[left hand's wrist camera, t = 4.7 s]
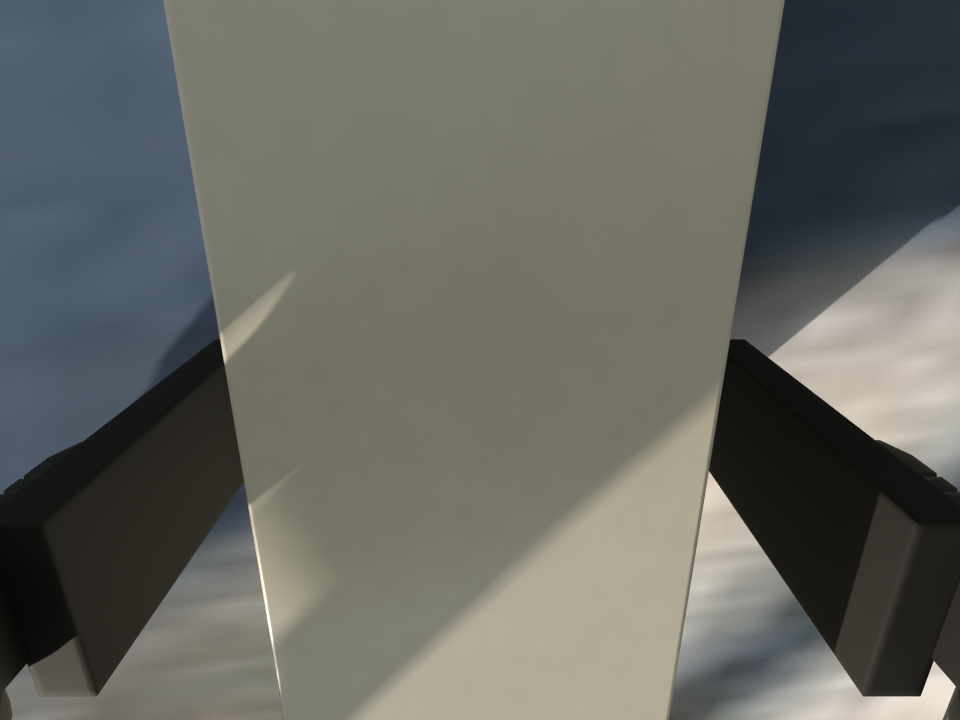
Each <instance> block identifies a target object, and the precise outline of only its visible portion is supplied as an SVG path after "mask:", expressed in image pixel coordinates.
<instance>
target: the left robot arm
mask: <svg viewBox="0 0 960 720" xmlns="http://www.w3.org/2000/svg"><path fill="white" fill-rule="evenodd" d="M709 471H710V473H711V474H712V476H713V477H714V479H715V480H716V482H717V483H718V485H719V486H720V488H721V489H722V490H723V492H724V493H725V495H726V496H727V498H728V499H729V501H730V502H731V504H732V505H733V507H734V508H735V509H736V511H737V512H738V514H739V515H740V517H741V518H742V520H743V521H744V523H745V524H746V526H747V527H748V528H749V530H750V531H751V533H752V534H753V536H754V537H755V539H756V540H757V542H758V543H759V545H760V546H761V547H762V549H763V550H764V552H765V553H766V555H767V556H768V558H769V559H770V561H771V562H772V564H773V565H774V567H775V568H776V569H777V571H778V572H779V574H780V575H781V577H782V578H783V580H784V581H785V583H786V584H787V586H788V587H789V588H790V590H791V591H792V593H793V594H794V596H795V597H796V599H797V600H798V602H799V603H800V605H801V606H802V607H803V609H804V610H805V612H806V613H807V615H808V616H809V618H810V619H811V621H812V622H813V624H814V625H815V626H816V628H817V629H818V631H819V632H820V634H821V635H822V637H823V638H824V640H825V641H826V643H827V644H828V646H829V647H830V648H831V650H832V651H833V653H834V654H835V656H836V657H837V659H838V660H839V662H840V663H841V665H842V666H843V667H844V669H845V670H846V672H847V673H848V675H849V676H850V678H851V679H852V681H853V682H854V684H855V685H856V686H857V688H858V689H859V691H860V692H861V694H862V695H863V696H921V694H922V691H923V688H924V686H925V683H926V680H927V677H928V675H929V672H930V669H931V667H932V664H933V661H935V663H936V664H937V665H938V666H939V667H940V668H941V670H942V671H943V672H944V673H945V674H946V675H947V676H948V678H949V679H950V680H951V681H952V682H953V683H954V685H955V686H956V687H955V690H954V693H953V695H952V698H951V700H950V703H949V705H948V708H947V710H946V713H945V715H944V718H943V720H960V492H957V488H956V487H954V486H953V485H952V484H950V483H949V482H948V481H946V480H945V479H944V478H942V477H937V475H936V474H937V473H935V472H934V471H933V470H931V469H930V468H929V467H927V466H926V465H925V464H923V463H922V462H921V461H919V460H918V459H916V458H915V457H914V456H912V455H910V454H908V453H906V452H904V451H902V450H900V449H898V448H895V447H893V446H891V445H889V444H887V443H885V442H883V441H880V440H874V439H873V438H871V437H870V436H869V435H868V434H866V433H865V432H864V431H862V430H861V429H860V428H859V427H857V426H856V425H855V424H853V423H852V422H851V421H849V420H848V419H847V418H846V417H844V416H843V415H842V414H840V413H839V412H838V411H836V410H835V409H834V408H833V407H831V406H830V405H829V404H827V403H826V402H825V401H823V400H822V399H821V398H820V397H818V396H817V395H816V394H814V393H813V392H812V391H811V390H809V389H808V388H807V387H805V386H804V385H803V384H801V383H800V382H799V381H798V380H796V379H795V378H794V377H792V376H791V375H790V374H788V373H787V372H786V371H785V370H783V369H782V368H781V367H779V366H778V365H777V364H775V363H774V362H773V361H772V360H770V359H769V358H768V357H766V356H765V355H764V354H763V353H761V352H760V351H759V350H757V349H756V348H755V347H753V346H752V345H751V344H750V343H748V342H747V341H746V340H730V342H729V349H728V355H727V361H726V367H725V373H724V380H723V386H722V392H721V398H720V404H719V411H718V417H717V423H716V429H715V435H714V442H713V448H712V454H711V460H710V466H709ZM243 482H244V478H243V472H242V466H241V460H240V454H239V448H238V442H237V436H236V430H235V424H234V418H233V412H232V406H231V400H230V394H229V388H228V382H227V377H226V371H225V365H224V359H223V353H222V347H221V341H220V340H214V341H213V342H212V343H210V344H209V345H208V346H207V347H205V348H204V349H203V350H201V351H200V352H199V353H197V354H196V355H195V356H194V357H192V358H191V359H190V360H188V361H187V362H186V363H184V364H183V365H182V366H181V367H179V368H178V369H177V370H175V371H174V372H173V373H172V374H170V375H169V376H168V377H166V378H165V379H164V380H162V381H161V382H160V383H159V384H157V385H156V386H155V387H153V388H152V389H151V390H149V391H148V392H147V393H146V394H144V395H143V396H142V397H140V398H139V399H138V400H137V401H135V402H134V403H133V404H131V405H130V406H129V407H127V408H126V409H125V410H124V411H122V412H121V413H120V414H118V415H117V416H116V417H114V418H113V419H112V420H111V421H109V422H108V423H107V424H105V425H104V426H103V427H101V428H100V429H99V430H98V431H96V432H95V433H94V434H92V435H91V436H90V437H89V438H87V439H86V440H85V441H83V442H80V443H78V444H76V445H74V446H72V447H70V448H68V449H66V450H63V451H61V452H59V453H57V454H55V455H53V456H51V457H49V458H47V459H46V460H44V461H43V462H42V463H40V464H39V465H38V466H36V467H35V468H34V469H32V470H31V471H30V472H28V473H27V474H26V475H24V479H19V480H18V481H16V482H15V483H14V484H12V485H11V486H10V487H8V488H7V489H6V490H4V494H3V495H0V720H11V718H12V710H11V704H10V700H9V698H8V695H7V693H6V690H5V688H6V687H7V686H8V685H9V683H10V682H11V681H12V680H13V679H14V678H15V676H16V675H17V674H18V673H19V672H20V671H21V669H22V668H23V667H24V666H25V665H26V664H28V667H29V669H30V672H31V675H32V678H33V680H34V683H35V686H36V688H37V691H38V694H39V696H97V695H98V694H99V692H100V691H101V689H102V688H103V686H104V685H105V684H106V682H107V681H108V679H109V678H110V676H111V675H112V673H113V672H114V670H115V669H116V667H117V666H118V665H119V663H120V662H121V660H122V659H123V657H124V656H125V654H126V653H127V651H128V650H129V648H130V647H131V645H132V644H133V643H134V641H135V640H136V638H137V637H138V635H139V634H140V632H141V631H142V629H143V628H144V626H145V625H146V624H147V622H148V621H149V619H150V618H151V616H152V615H153V613H154V612H155V610H156V609H157V607H158V606H159V605H160V603H161V602H162V600H163V599H164V597H165V596H166V594H167V593H168V591H169V590H170V588H171V587H172V586H173V584H174V583H175V581H176V580H177V578H178V577H179V575H180V574H181V572H182V571H183V569H184V568H185V567H186V565H187V564H188V562H189V561H190V559H191V558H192V556H193V555H194V553H195V552H196V550H197V549H198V547H199V546H200V545H201V543H202V542H203V540H204V539H205V537H206V536H207V534H208V533H209V531H210V530H211V528H212V527H213V526H214V524H215V523H216V521H217V520H218V518H219V517H220V515H221V514H222V512H223V511H224V509H225V508H226V507H227V505H228V504H229V502H230V501H231V499H232V498H233V496H234V495H235V493H236V492H237V490H238V489H239V488H240V486H241V485H242V483H243Z"/></svg>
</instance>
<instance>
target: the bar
mask: <svg viewBox="0 0 960 720" xmlns="http://www.w3.org/2000/svg"><path fill="white" fill-rule="evenodd" d="M163 1H164V7H165V13H166V19H167V25H168V31H169V37H170V43H171V49H172V55H173V61H174V67H175V72H176V78H177V84H178V90H179V96H180V102H181V108H182V114H183V120H184V126H185V132H186V138H187V144H188V150H189V156H190V162H191V168H192V174H193V180H194V186H195V192H196V198H197V204H198V210H199V216H200V222H201V227H202V233H203V239H204V245H205V251H206V257H207V263H208V269H209V275H210V281H211V287H212V293H213V299H214V305H215V311H216V317H217V323H218V329H219V335H220V341H221V347H222V353H223V359H224V365H225V371H226V377H227V382H228V388H229V394H230V400H231V406H232V412H233V418H234V424H235V430H236V436H237V442H238V448H239V454H240V460H241V466H242V472H243V478H244V484H245V490H246V496H247V502H248V508H249V514H250V520H251V526H252V532H253V537H254V543H255V549H256V555H257V561H258V567H259V573H260V579H261V585H262V591H263V597H264V603H265V609H266V615H267V621H268V627H269V633H270V639H271V645H272V651H273V657H274V663H275V669H276V675H277V681H278V687H279V692H280V698H281V704H282V710H283V716H284V720H669V714H670V708H671V702H672V695H673V689H674V683H675V677H676V671H677V664H678V658H679V652H680V646H681V640H682V633H683V627H684V621H685V615H686V609H687V603H688V596H689V590H690V584H691V578H692V572H693V565H694V559H695V553H696V547H697V541H698V534H699V528H700V522H701V516H702V510H703V503H704V497H705V491H706V485H707V479H708V472H709V466H710V460H711V454H712V448H713V442H714V435H715V429H716V423H717V417H718V411H719V404H720V398H721V392H722V386H723V380H724V373H725V367H726V361H727V355H728V349H729V342H730V336H731V330H732V324H733V318H734V311H735V305H736V299H737V293H738V287H739V281H740V274H741V268H742V262H743V256H744V250H745V243H746V237H747V231H748V225H749V219H750V212H751V206H752V200H753V194H754V188H755V181H756V175H757V169H758V163H759V157H760V150H761V144H762V138H763V132H764V126H765V119H766V113H767V107H768V101H769V95H770V89H771V82H772V76H773V70H774V64H775V58H776V51H777V45H778V39H779V33H780V27H781V20H782V14H783V8H784V2H785V0H163Z"/></svg>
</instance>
